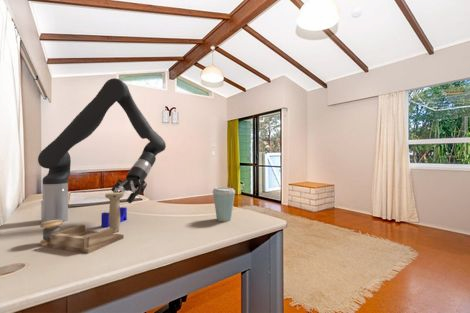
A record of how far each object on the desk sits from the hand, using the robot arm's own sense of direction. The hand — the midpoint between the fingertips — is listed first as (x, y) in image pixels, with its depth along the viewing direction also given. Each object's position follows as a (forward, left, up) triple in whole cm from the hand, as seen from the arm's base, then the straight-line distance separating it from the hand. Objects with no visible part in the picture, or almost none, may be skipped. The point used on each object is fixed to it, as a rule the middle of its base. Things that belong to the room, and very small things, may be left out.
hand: (120, 201), depth 94 cm
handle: (0, -3, -11) cm, 12 cm away
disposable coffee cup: (+35, +26, -11) cm, 45 cm away
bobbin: (-11, -19, -11) cm, 25 cm away
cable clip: (-10, +6, -12) cm, 17 cm away
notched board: (0, -15, -11) cm, 19 cm away
